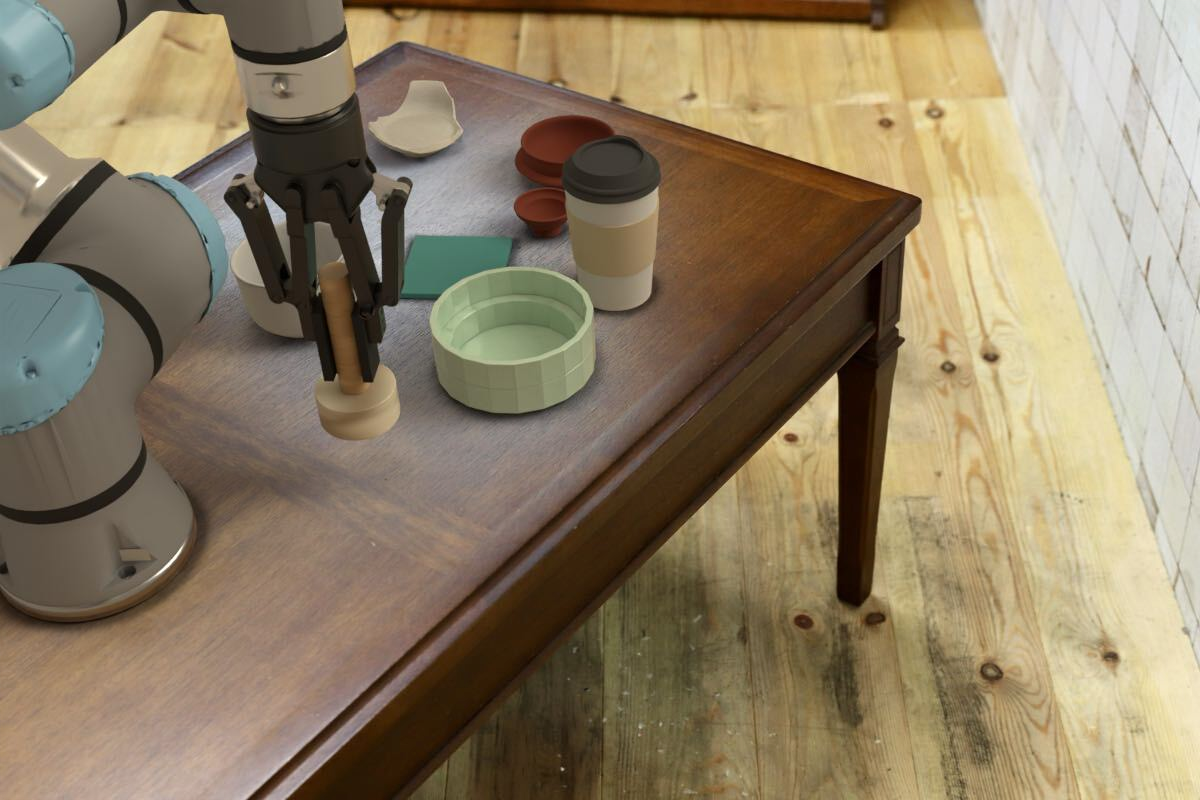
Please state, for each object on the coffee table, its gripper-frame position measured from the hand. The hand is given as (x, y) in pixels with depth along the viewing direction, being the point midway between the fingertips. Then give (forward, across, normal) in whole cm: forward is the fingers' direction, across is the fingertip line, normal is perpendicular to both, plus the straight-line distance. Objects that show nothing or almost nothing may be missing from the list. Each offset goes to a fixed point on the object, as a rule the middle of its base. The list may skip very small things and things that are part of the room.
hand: (352, 370), depth 107 cm
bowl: (+11, +10, +14) cm, 20 cm away
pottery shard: (+11, -6, +53) cm, 54 cm away
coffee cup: (+11, +18, +26) cm, 34 cm away
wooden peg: (+5, 0, 0) cm, 5 cm away
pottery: (+11, +11, +43) cm, 46 cm away
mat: (+11, +2, +29) cm, 31 cm away
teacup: (+11, -11, +22) cm, 27 cm away
